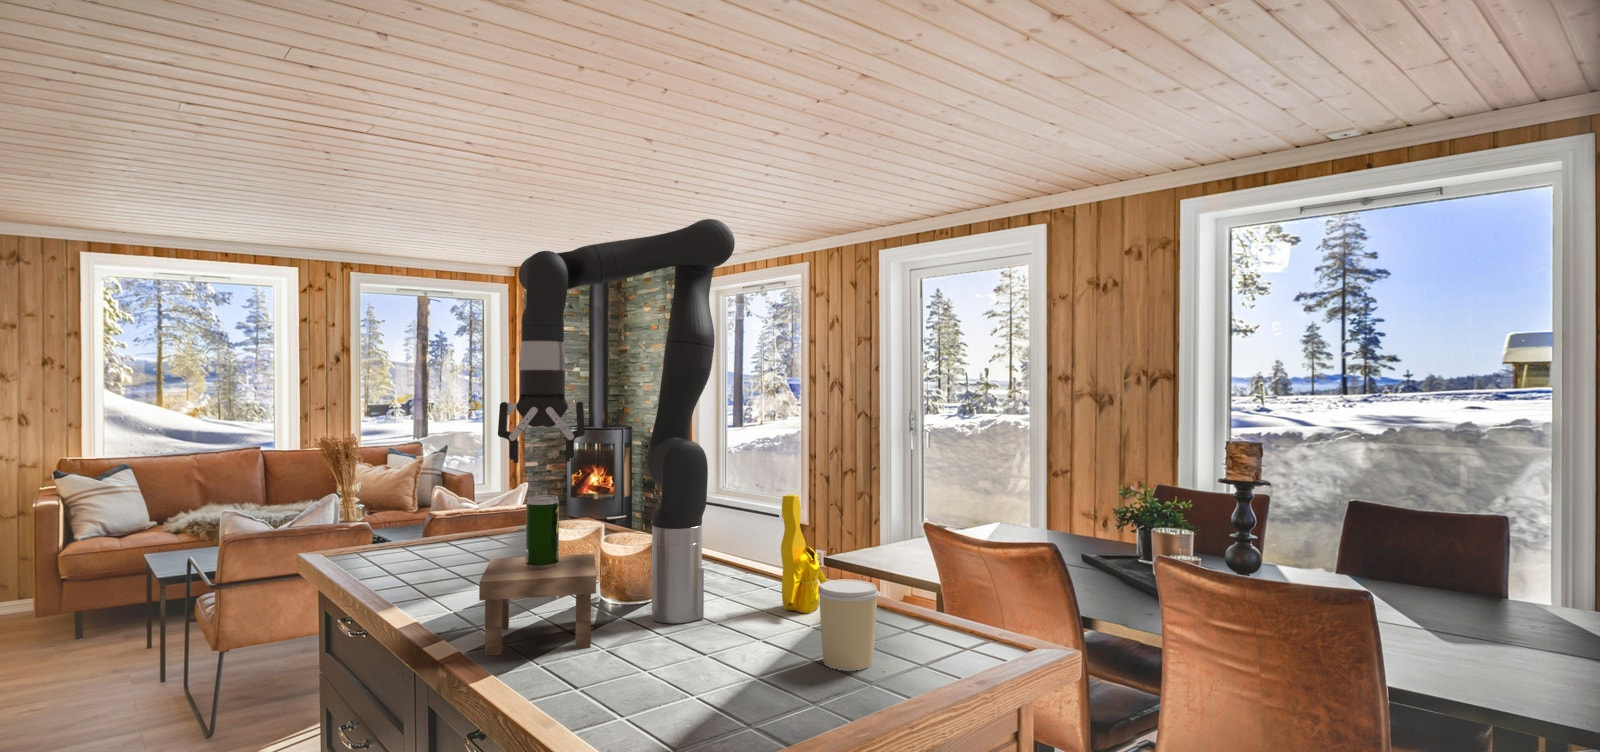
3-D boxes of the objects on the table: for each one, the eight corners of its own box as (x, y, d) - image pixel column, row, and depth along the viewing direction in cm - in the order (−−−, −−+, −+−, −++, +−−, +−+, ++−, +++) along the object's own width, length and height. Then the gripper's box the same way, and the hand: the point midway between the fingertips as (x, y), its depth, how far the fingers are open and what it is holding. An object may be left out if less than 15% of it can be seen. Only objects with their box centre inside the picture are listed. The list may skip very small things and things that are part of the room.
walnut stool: (593, 618, 152) (594, 553, 152) (595, 648, 134) (596, 575, 135) (490, 625, 147) (491, 558, 147) (478, 657, 130) (479, 581, 130)
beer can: (530, 571, 137) (531, 499, 137) (522, 565, 142) (522, 496, 142) (562, 567, 140) (563, 497, 140) (553, 562, 145) (553, 494, 145)
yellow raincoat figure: (800, 623, 149) (800, 502, 150) (761, 618, 153) (762, 499, 153) (836, 600, 165) (836, 491, 166) (801, 596, 169) (801, 489, 169)
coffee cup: (884, 656, 131) (884, 581, 131) (869, 676, 122) (869, 595, 122) (828, 650, 134) (828, 576, 134) (810, 668, 125) (810, 590, 125)
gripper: (584, 369, 147) (584, 459, 147) (500, 368, 143) (500, 461, 143) (585, 368, 140) (584, 463, 139) (496, 367, 136) (496, 465, 136)
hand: (542, 462), depth 141 cm, fingers open, 8 cm apart
